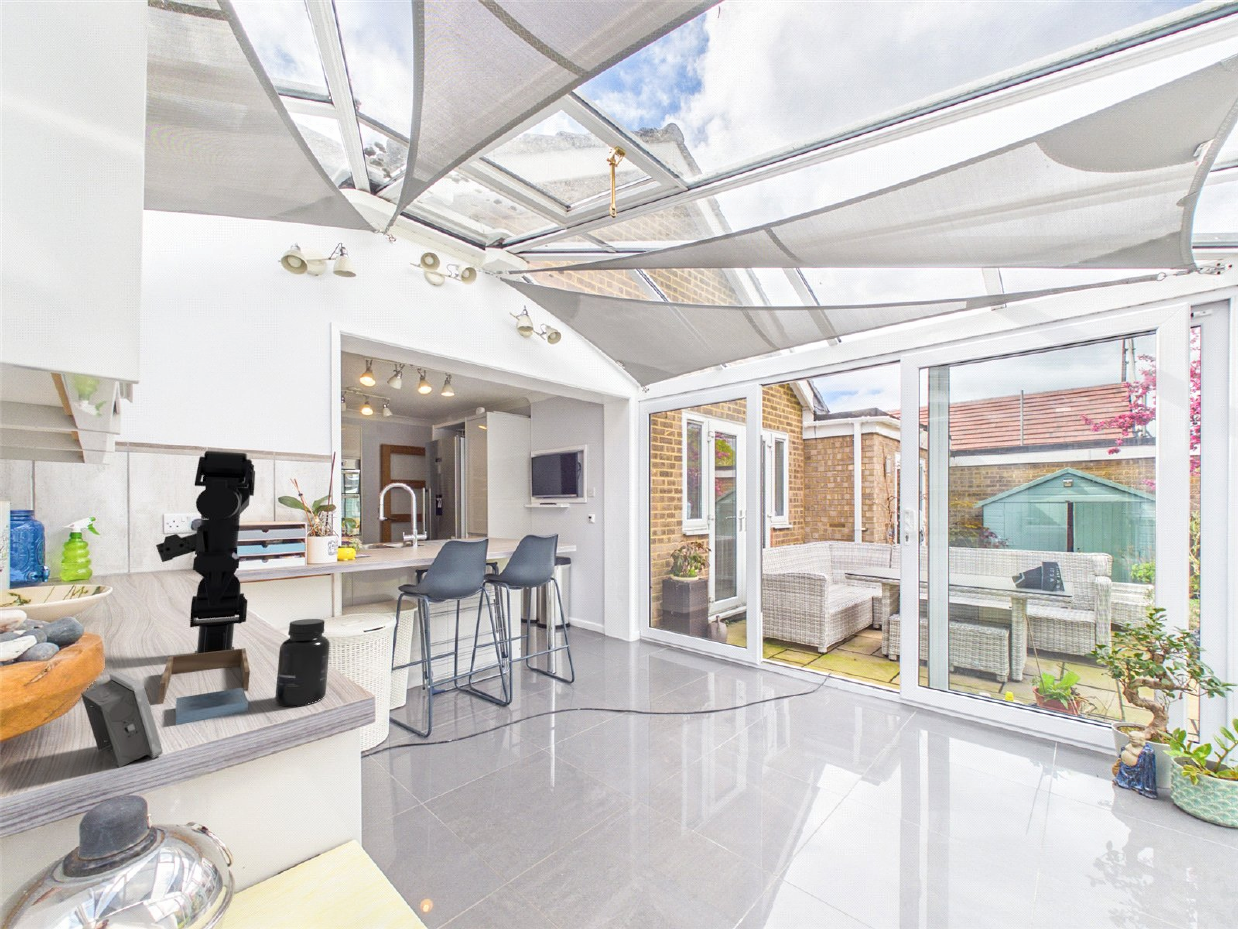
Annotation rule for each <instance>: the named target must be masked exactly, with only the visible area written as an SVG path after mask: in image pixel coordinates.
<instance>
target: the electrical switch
mask: <svg viewBox="0 0 1238 929" xmlns="http://www.w3.org/2000/svg"><path fill="white" fill-rule="evenodd" d="M108 677H109V680H108V681H106V682H104V683H101V684H99V685H98V686H95V687H94V688H90V689H88V690H87V689H86V690H85V691H82V692H80V694H81V698H82V702H83V704H84V708H85V711H86V714H87V718H88V721H89V724H90V727H91V731H92V733H93V738H94V741H95V744H96V747H97V750H98V751H99V753H101V754H102V755H104V756H105V757H106V758H107V759H109V760H110V761H111V762H113V763H114V764H115V765H116V766H117V767H118V768H122V767H123V766H126V765H128V764H130V763H132V762H134V761H135V760H139V759H141V758H143V757H145V756H149V757H150V758H152V759H156V758H157V757H158V756H161V755H162V754H163V748H162V743H161V738H160V734H159V731H158V728H157V724H156V721H155V717H154V715H153V711H152V706H151V705H150V702H149V698H148V696H147V692H146V690H145V686H144V684H143V683H142V682H140V681H138V680H136V679H134V678H133V677H130V676H129V675H127V674H125V673H123V672H121V671H119V670H118V671H114V672H112V673H109V674H108Z"/></svg>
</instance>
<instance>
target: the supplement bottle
mask: <svg viewBox="0 0 1238 929" xmlns="http://www.w3.org/2000/svg"><path fill="white" fill-rule="evenodd" d="M325 623H326V622H325V619H321V618H320V619H319V618H305V619H304V618H303V619H297V620H293V621H290V622H289V627H288V628H289V630H288V634H287V635H288V636H289V638H288V639H286V640H284V641H283V642H282V643H281V645H280V646H279V653H278V654H279V655H278V663H277V664H278V665H277V675H276V686H275V687H276V688H275V699H274V701H275V703H276V704H277V705H278V706H281V707H288V708H292V707H291V706H296V707H299V706H298V705H304V706H306V705H305V704H308V703H312V702H315V701H318V700H319V699H321V698H323V697H324V698H325V697H326V692H327V684H328V682H327V681H328V670H329V659H330V657H329V656H330V645H331V644H330V640H329V639H328V638H327V637H326V636H324V635H323V634H324V633H325ZM324 698H323V699H324ZM321 700H322V699H321ZM318 702H319V701H318Z"/></svg>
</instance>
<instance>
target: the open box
mask: <svg viewBox="0 0 1238 929" xmlns="http://www.w3.org/2000/svg"><path fill="white" fill-rule="evenodd" d="M246 649H247V648H245V647H242V648H237V649H236V648H234V650H225V651H216V652H207V653H198V654H194V653H191V654H180V655H174V656H168V659H167V663H166V666H165V668H164V670H163V674H162V676H161V679H160V682H159V691H158V699H157V700H158V701H157V705H160V704H164V703H165V698H166V695H167V691H168V689H169V684H170V681H171V677H172V676H173V675H177V674H185V673H190V672H191V673H193V672H200V671H207V670H215V669H217V670H218V669H223V668H232V667H239V665H240V673H241V681H242V688H243V690H244V692H246V691H249V687H250V686H249V685H250V677H251V676H250V675H251V673H250V672H251V670H250V664H249V660H248V656H247V650H246Z"/></svg>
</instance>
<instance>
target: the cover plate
mask: <svg viewBox="0 0 1238 929" xmlns="http://www.w3.org/2000/svg"><path fill="white" fill-rule="evenodd" d="M248 706H249V701H248V698H247V696H246V693H245V691H244V689H243V687H237V688H231V689H227V690H220V691H219V690H218V691H212V692H207V693H206V692H205V693H201V694H193V695H186V696H182V697H176V699H175V711H174V713H175V726H179V725H180V726H181V725H184V724H185V725H186V724H189V723H190V724H191V723H196V722H201V721H206V720H207V721H208V720H212V719H217V718H223V717H228V716H234V715H239V714H244V713H248Z"/></svg>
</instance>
